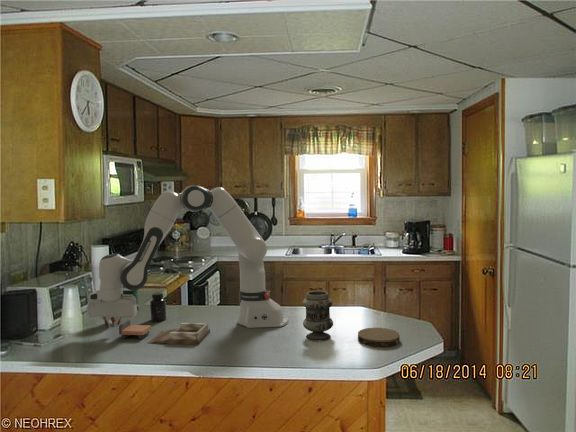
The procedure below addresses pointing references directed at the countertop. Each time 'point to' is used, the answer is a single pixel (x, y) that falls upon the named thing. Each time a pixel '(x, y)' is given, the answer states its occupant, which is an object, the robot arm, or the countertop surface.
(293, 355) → the countertop surface
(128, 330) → the trolley
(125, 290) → the canned tomato
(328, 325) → the apothecary jar
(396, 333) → the brown round disc
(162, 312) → the supplement bottle
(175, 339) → the loading dock
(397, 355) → the countertop surface
